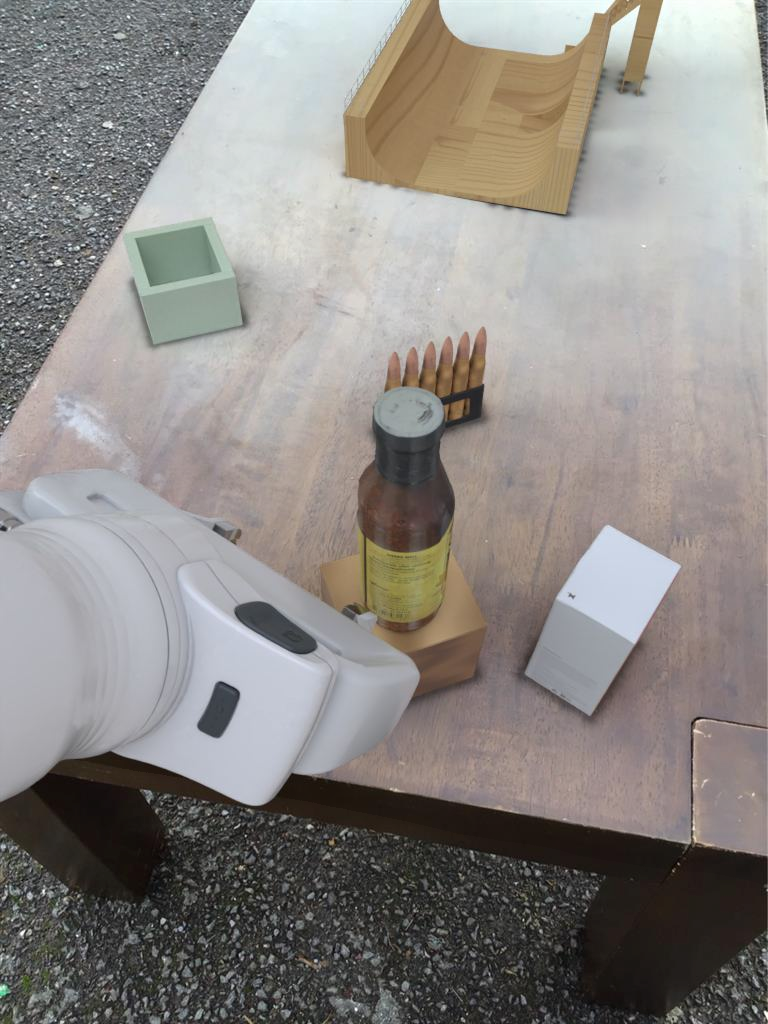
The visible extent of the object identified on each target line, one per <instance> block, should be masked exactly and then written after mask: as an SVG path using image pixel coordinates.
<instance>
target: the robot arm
mask: <svg viewBox="0 0 768 1024" xmlns="http://www.w3.org/2000/svg"><path fill="white" fill-rule="evenodd" d="M242 533H243V531H242V529H241V528H240V527H238V526H236V525H235V524H233V523H231V522H230V521H229V520H227V519H226V518H224V517H223V516H218V517H217V516H215V517H206V516H203V515H199V514H196V513H193V512H190V511H187V510H183V509H180V508H179V507H177V506H176V505H174V504H173V503H172V502H170V501H168V500H166V499H165V498H163V497H162V496H160V495H159V494H157V493H155V492H154V491H152V490H151V489H149V488H148V487H146V486H145V485H144V484H142V483H140V482H138V481H137V480H136V479H134V478H132V477H131V476H129V475H126V474H124V473H122V472H118V471H116V470H115V471H114V470H111V469H106V468H86V469H74V470H66V471H59V472H54V473H48V474H44V475H40V476H37V477H36V478H33V479H32V480H31V481H30V482H29V484H28V486H27V488H26V490H25V489H0V803H1V802H4V801H6V800H8V799H10V798H13V797H15V796H17V795H18V794H20V793H22V792H24V791H26V790H27V789H29V788H30V787H31V786H33V785H34V784H36V782H39V781H40V780H42V779H43V778H44V777H45V776H46V775H47V774H49V772H50V771H51V770H52V769H53V768H54V767H55V766H56V765H57V764H59V762H62V761H65V760H75V759H76V760H77V759H80V760H81V759H87V758H93V757H97V756H101V755H103V754H106V753H109V752H112V753H114V754H116V755H118V756H121V757H123V758H128V759H131V760H135V761H139V762H142V763H145V764H149V765H152V766H154V767H155V766H156V767H158V768H161V769H165V770H167V771H169V772H172V773H175V774H177V775H180V776H183V777H185V778H188V779H189V780H191V781H194V782H196V783H199V784H201V785H203V786H205V787H207V788H209V789H211V790H213V791H215V792H217V793H220V794H222V795H223V796H225V797H228V798H230V799H231V800H234V801H236V802H238V803H240V804H244V805H247V806H252V807H258V806H264V805H265V804H268V803H269V802H270V801H272V800H273V799H274V798H275V797H276V796H277V795H278V793H280V791H281V789H282V788H283V786H284V785H285V783H286V782H287V781H288V779H289V778H290V776H291V775H292V774H295V775H303V776H315V775H322V774H325V773H329V772H331V771H334V770H336V769H338V768H340V767H343V766H345V765H346V764H348V763H350V762H352V761H355V760H356V759H358V758H360V757H361V756H363V755H364V754H366V753H368V752H369V751H371V750H372V749H373V748H375V747H377V746H378V745H379V744H380V743H382V742H383V741H384V740H385V739H387V738H388V737H389V736H390V734H392V732H393V731H394V730H395V728H396V726H397V725H398V724H399V722H400V720H401V719H402V716H403V715H404V713H405V711H406V709H407V707H408V706H409V704H410V702H411V700H412V699H413V698H412V696H413V694H414V692H415V690H416V687H417V685H418V683H419V680H420V673H419V671H418V668H417V666H416V664H415V663H414V661H413V660H412V659H411V658H410V657H409V656H407V655H406V654H404V653H403V652H401V651H399V650H398V649H396V648H394V647H393V646H391V645H390V644H388V643H387V642H385V641H384V640H382V639H380V638H379V637H377V636H376V635H374V634H373V633H371V632H372V630H373V628H374V626H375V624H376V622H377V619H378V616H377V615H375V614H374V613H372V612H371V611H369V610H368V609H366V608H364V607H363V606H361V605H359V604H358V603H356V602H354V603H353V604H352V605H351V604H349V605H346V606H344V608H343V610H342V612H341V613H340V612H339V611H337V610H335V609H334V608H332V607H331V606H329V605H328V604H326V603H325V602H323V601H322V599H320V598H318V597H317V596H316V595H314V594H312V593H311V592H309V591H308V590H306V589H304V588H303V587H301V586H299V584H296V583H295V582H294V581H292V580H290V579H289V578H287V577H286V576H284V575H283V574H281V573H279V571H277V570H275V569H273V568H272V567H270V566H269V565H267V564H266V563H264V562H263V561H261V560H259V559H258V558H256V557H255V556H253V555H252V554H250V553H249V552H247V551H246V550H244V549H242V548H241V547H239V546H238V545H237V541H238V540H240V538H241V536H242Z"/></svg>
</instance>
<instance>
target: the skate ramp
mask: <svg viewBox="0 0 768 1024" xmlns="http://www.w3.org/2000/svg"><path fill="white" fill-rule="evenodd" d="M405 3H406V4H405ZM404 4H405V7H404V9H403V10H402V7H403V5H404ZM663 4H664V0H613V2H612V3H611V5H610V6H609V7H608V9H606V10H605V12H604V13H601V12H594V14H593V17H592V20H591V24H590V27H589V31H588V32H587V34H586V35H585V36H584V37H583V38H582V40H581V41H580V42H578V44H576V45H570V44H565V47H564V51H563V52H562V53H558V54H551V55H548V54H538V53H530V52H523V51H516V50H507V49H502V48H501V49H500V48H492V47H485V46H477V45H473V44H470V43H466V42H464V41H462V40H461V39H459V38H458V37H457V36H456V35H454V33H453V32H452V31H451V30H450V29H449V27H448V26H447V24H446V22H445V20H444V17H443V15H442V12H441V7H440V0H408V2H406V0H404V1H403V3H402V5H401V6H400V8H399V9H398V11H397V13H396V14H395V16H394V17H393V20H392V21H391V23H390V24H389V26H388V28H387V29H386V31H385V33H384V34H383V36H382V38H381V39H380V41H379V42H378V44H377V46H376V47H375V49H374V51H373V52H372V54H371V55H370V57H369V59H368V60H367V62H366V64H365V66H364V67H363V69H362V70H361V71H360V74H359V75H358V76H357V78H356V80H355V82H354V83H353V84H352V86H351V88H350V90H349V92H348V93H347V95H346V97H344V99H343V100H344V101H343V103H344V112H343V115H342V116H343V130H344V155H345V158H344V159H345V177H346V178H350V179H355V180H356V179H357V180H361V181H367V182H372V183H378V184H383V185H388V186H394V187H399V188H403V189H410V190H414V191H421V192H425V193H431V194H437V195H441V196H449V197H454V198H461V199H468V200H473V201H479V202H485V203H491V204H498V205H503V206H510V207H517V208H521V209H522V208H523V209H529V210H535V211H541V212H548V213H552V214H553V213H554V214H559V215H567V211H568V208H569V204H570V200H571V195H572V193H573V187H574V184H575V181H576V176H577V171H578V168H579V164H580V160H581V155H582V152H583V147H584V142H585V140H586V135H587V131H588V129H589V124H590V120H591V115H592V112H593V107H594V105H595V100H596V96H597V92H598V89H599V84H600V81H601V76H602V73H603V68H604V64H605V59H606V54H607V49H608V45H609V40H610V36H611V30H612V27H613V26H614V25H615V24H616V23H618V22H619V21H620V20H622V19H623V18H624V17H626V16H627V15H628V14H629V13H631V12H632V11H634V10H635V9H636V8H638V7H639V9H638V13H637V17H636V21H635V26H634V31H633V35H632V37H631V38H632V39H631V43H630V47H629V52H628V56H627V59H626V60H627V61H626V64H625V68H624V73H623V79H622V82H621V87H620V91H619V94H620V95H622V94H623V91H624V90H623V89H624V86H625V82H634V83H639V85H638V88H637V93H636V97H639V95H640V92H641V88H642V84H643V82H644V79H645V78H644V77H645V73H646V70H647V66H648V63H649V58H650V54H651V51H652V47H653V42H654V38H655V34H656V30H657V27H658V23H659V18H660V15H661V11H662V8H663ZM407 5H408V6H407ZM399 13H400V15H399V16H398V14H399ZM397 16H398V19H397ZM394 20H395V23H394V25H393V26H392V23H393V22H394ZM391 26H392V27H391ZM389 28H391V29H390V31H389V34H388V35H387V36H386V34H387V32H388V30H389ZM385 36H386V37H385ZM384 37H385V40H384V41H383V43H382V40H383V38H384ZM378 46H379V50H378V52H377V51H376V50H377V49H378ZM382 47H383V48H382ZM373 54H374V58H373V60H372V62H371V59H372V56H373ZM367 64H368V65H369V67H368V68H367V69H366V72H365V67H367ZM361 74H362V78H361V80H360V82H359V78H360V77H361ZM361 82H362V83H361ZM355 84H356V86H357V87H356V88H355V90H354V92H353V88H354V86H355ZM360 84H361V85H360ZM349 94H350V98H348V102H346V101H347V97H348V96H349ZM349 102H350V103H349Z"/></svg>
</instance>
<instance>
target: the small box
mask: <svg viewBox="0 0 768 1024" xmlns="http://www.w3.org/2000/svg"><path fill="white" fill-rule="evenodd" d="M681 569H682V565H681V564H679V563H678V562H676V561H674V560H672V559H670V558H668V557H667V556H665V555H663V554H661V553H660V552H658V551H656V550H654V549H652V548H651V547H649V546H647V545H645V544H643V543H641V542H639V541H638V540H636V539H634V538H632V537H630V536H629V535H627V534H626V533H624V532H622V531H620V530H618V529H617V528H616V527H613V526H612V525H610V524H605V525H604V526H603V528H602V529H601V530H600V531H599V533H598V535H597V536H596V537H595V539H594V540H593V542H592V543H591V544H590V545H589V547H588V549H587V550H586V551H585V552H584V554H583V555H582V556H581V558H580V559H579V560H578V562H577V563H576V565H575V567H574V568H573V570H572V572H571V573H570V575H569V576H568V578H567V580H566V581H565V583H564V584H563V586H561V589H560V590H559V592H558V593H557V594H556V596H555V598H554V601H553V603H552V606H551V607H550V610H549V611H548V612H549V613H548V615H547V617H546V620H545V622H544V625H543V627H542V630H541V632H540V635H539V637H538V640H537V642H536V645H535V648H534V650H533V652H532V655H531V657H530V659H529V661H528V664H527V666H526V667H525V670H524V672H523V673H524V676H527V678H529V679H531V680H533V681H534V682H536V683H537V684H538V685H540V686H542V687H543V688H545V689H547V690H548V691H550V692H551V693H552V694H554V695H556V696H558V697H559V698H560V699H562V700H564V701H565V702H567V703H569V704H570V705H572V706H573V707H575V708H576V709H578V710H579V711H581V712H582V713H584V714H586V715H587V716H589V717H591V716H592V715H593V714H594V712H595V711H596V709H597V708H598V706H599V704H600V703H601V701H602V700H603V698H604V696H605V695H606V693H607V692H608V690H609V688H610V687H611V685H612V683H613V682H614V680H615V679H616V677H617V675H618V674H619V672H620V671H621V669H622V668H623V666H624V665H625V663H626V661H627V660H628V658H629V657H630V655H631V654H632V652H633V651H634V649H635V647H636V646H637V645H638V643H639V641H640V640H641V639H642V637H643V635H644V634H645V632H646V630H647V628H648V627H649V625H650V624H651V622H652V620H653V619H654V616H655V615H656V613H657V612H658V610H659V608H660V606H661V605H662V603H663V601H664V600H665V598H666V596H667V594H668V592H669V590H670V589H671V587H672V585H673V584H674V582H675V580H676V579H677V577H678V576H679V573H680V571H681Z"/></svg>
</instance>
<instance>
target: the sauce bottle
mask: <svg viewBox="0 0 768 1024" xmlns="http://www.w3.org/2000/svg"><path fill="white" fill-rule="evenodd" d="M445 417H446V415H445V410H444V406H443V404H442V402H441V400H440V399H439V398H438V397H437V396H436V395H435V394H433V393H432V392H430V391H427V390H425V389H422V388H419V387H397V388H394V389H391V390H389V391H387V392H385V393H384V392H383V393H382V394H381V395H380V396H379V397H378V398H377V399H376V401H375V403H374V404H373V407H372V419H371V421H372V422H371V429H372V431H373V432H372V433H373V435H374V437H375V452H374V459H373V460H372V461H371V462H370V463H369V464H368V465H367V467H366V468H364V470H363V471H362V473H361V475H360V477H359V479H358V487H357V510H356V529H357V530H356V531H357V532H356V533H357V554H358V557H359V582H360V594H361V597H362V600H363V603H364V607H365V608H366V609H368V610H369V611H371V612H372V613H374V614H375V615H377V616H378V619H377V622H376V623H377V624H379V625H380V626H383V627H386V628H388V629H390V630H394V631H399V632H401V631H405V632H406V631H407V632H408V631H411V630H416V629H419V628H420V627H423V626H425V625H426V624H428V623H429V622H430V621H432V619H433V618H434V617H435V616H436V614H437V612H438V609H439V608H440V606H441V604H442V600H443V598H444V595H445V589H446V580H447V570H448V562H449V555H450V549H451V546H452V539H453V538H452V537H453V527H454V520H455V509H456V496H455V491H454V489H453V485H452V483H451V481H450V477H449V476H448V473H447V471H446V468H445V466H444V464H443V461H442V459H441V453H440V452H441V443H442V442H441V440H442V438H443V436H444V433H445V431H446V429H445Z"/></svg>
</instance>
